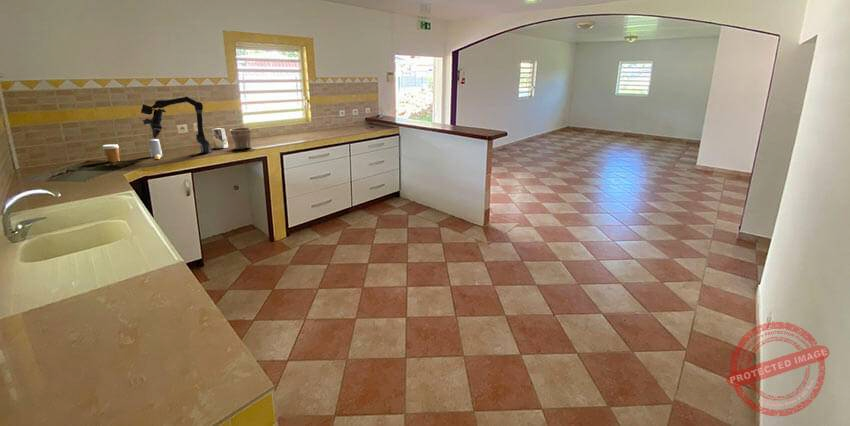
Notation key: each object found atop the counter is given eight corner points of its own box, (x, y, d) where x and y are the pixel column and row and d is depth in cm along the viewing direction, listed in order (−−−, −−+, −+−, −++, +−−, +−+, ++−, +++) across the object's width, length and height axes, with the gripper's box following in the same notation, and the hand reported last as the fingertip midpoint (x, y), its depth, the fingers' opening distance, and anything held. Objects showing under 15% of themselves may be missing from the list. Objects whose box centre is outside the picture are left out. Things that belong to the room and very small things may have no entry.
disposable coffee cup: (125, 160, 295) (121, 144, 291) (112, 163, 287) (107, 146, 283) (116, 159, 298) (112, 143, 294) (103, 162, 289) (98, 145, 286)
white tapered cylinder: (164, 155, 313) (160, 139, 309) (158, 157, 307) (154, 140, 303) (155, 155, 314) (152, 139, 310) (149, 157, 307) (145, 140, 303)
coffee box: (228, 147, 348) (225, 128, 342) (224, 148, 342) (220, 129, 336) (219, 146, 349) (215, 128, 344) (214, 148, 343) (211, 129, 338)
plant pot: (244, 150, 333) (241, 130, 327) (228, 149, 337) (225, 129, 332) (257, 147, 347) (254, 128, 342) (242, 146, 352) (239, 127, 347)
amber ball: (161, 158, 302) (160, 154, 301) (159, 159, 299) (158, 155, 298) (157, 158, 302) (156, 154, 301) (154, 159, 299) (153, 155, 298)
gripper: (143, 113, 302) (140, 134, 304) (145, 114, 288) (142, 136, 289) (161, 117, 309) (158, 137, 311) (163, 118, 295) (160, 139, 296)
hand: (154, 137), depth 301 cm, fingers open, 9 cm apart
